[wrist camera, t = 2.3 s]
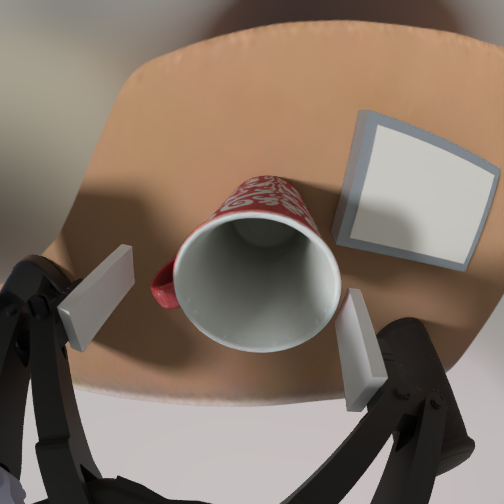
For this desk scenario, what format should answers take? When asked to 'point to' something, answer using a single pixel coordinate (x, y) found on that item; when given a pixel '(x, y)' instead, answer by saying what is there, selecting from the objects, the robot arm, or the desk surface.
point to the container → (428, 384)
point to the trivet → (412, 194)
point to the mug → (254, 271)
